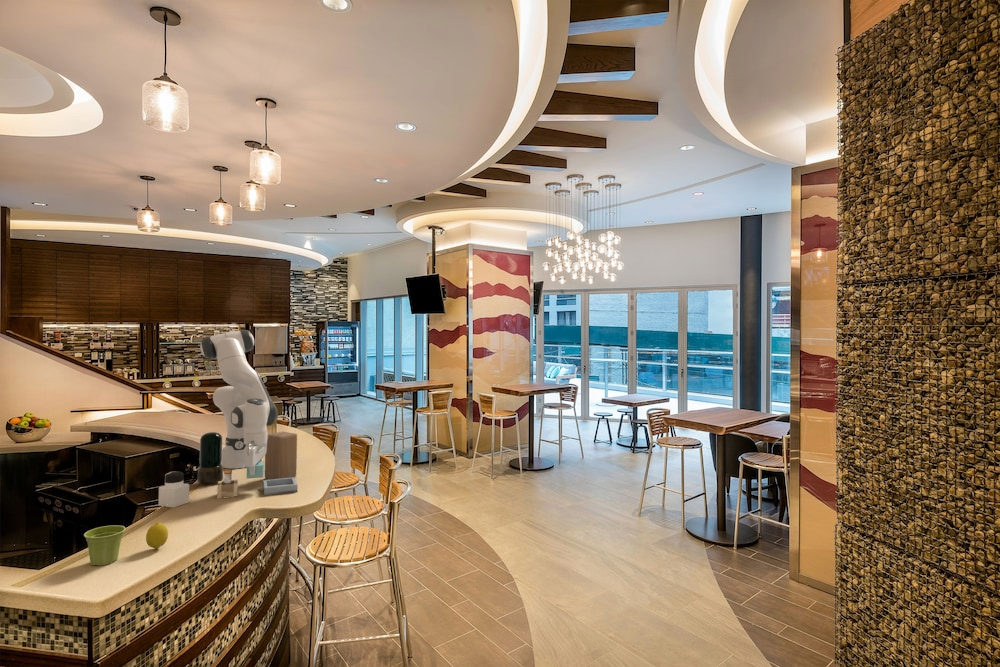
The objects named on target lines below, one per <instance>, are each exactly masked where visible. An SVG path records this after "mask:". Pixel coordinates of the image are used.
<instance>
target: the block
mask: <svg viewBox="0 0 1000 667" xmlns="http://www.w3.org/2000/svg"><path fill="white" fill-rule="evenodd" d="M268 434H269V438H268V439H267V451H266V455H265V456H264V478H265V480H272V479H282V478H292V477H295V478H296V477H297V468H298V467H297V465H298V464H297V461H298V454H297V453H298V435H297V433H294V432H288V431H279V432H274V433H268Z"/></svg>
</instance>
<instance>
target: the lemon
mask: <svg viewBox="0 0 1000 667" xmlns="http://www.w3.org/2000/svg"><path fill="white" fill-rule="evenodd" d="M168 536H169V531H168V527H167V525H165V524H163V523H161V522H155V523H154V524H152V525H151V526H150V527H149V528H148V529H147V532H146V535H145V541H146V544H147V545H148V547H150V548H153V549H155V550H159V548H161V547H162V546H164V545H165V544H166V542H167V540H168V538H169V537H168Z"/></svg>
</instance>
